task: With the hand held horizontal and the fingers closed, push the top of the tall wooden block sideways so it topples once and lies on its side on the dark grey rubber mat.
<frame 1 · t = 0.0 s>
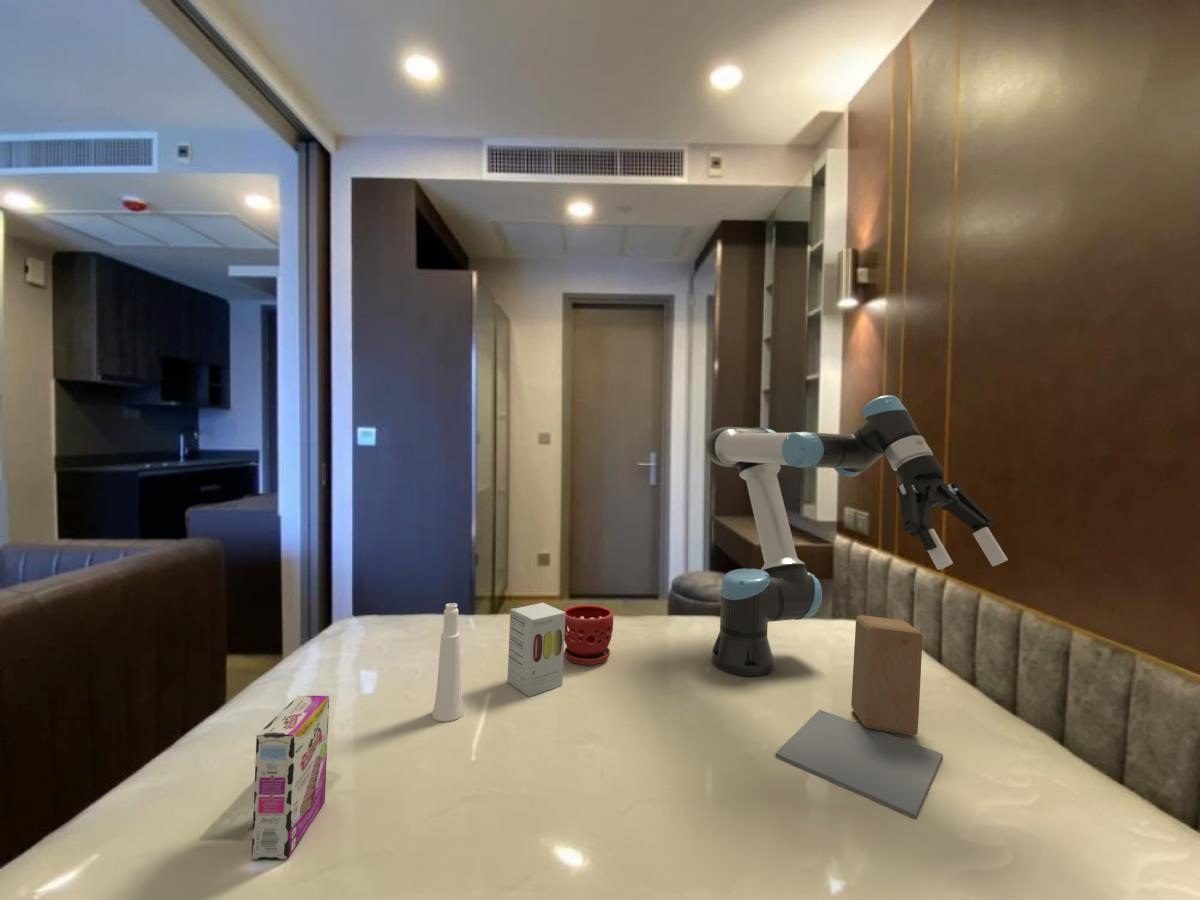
hand: (973, 565, 92), 36 cm above the table, tool tilted 35°, fingers open, 13 cm apart
cosmetic bottle: (448, 715, 105), on the table
supplement box: (534, 684, 119), on the table
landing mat: (859, 756, 95), on the table
candy bar box: (292, 831, 73), on the table
plant pot: (586, 658, 135), on the table
wooden block: (882, 723, 107), on the table
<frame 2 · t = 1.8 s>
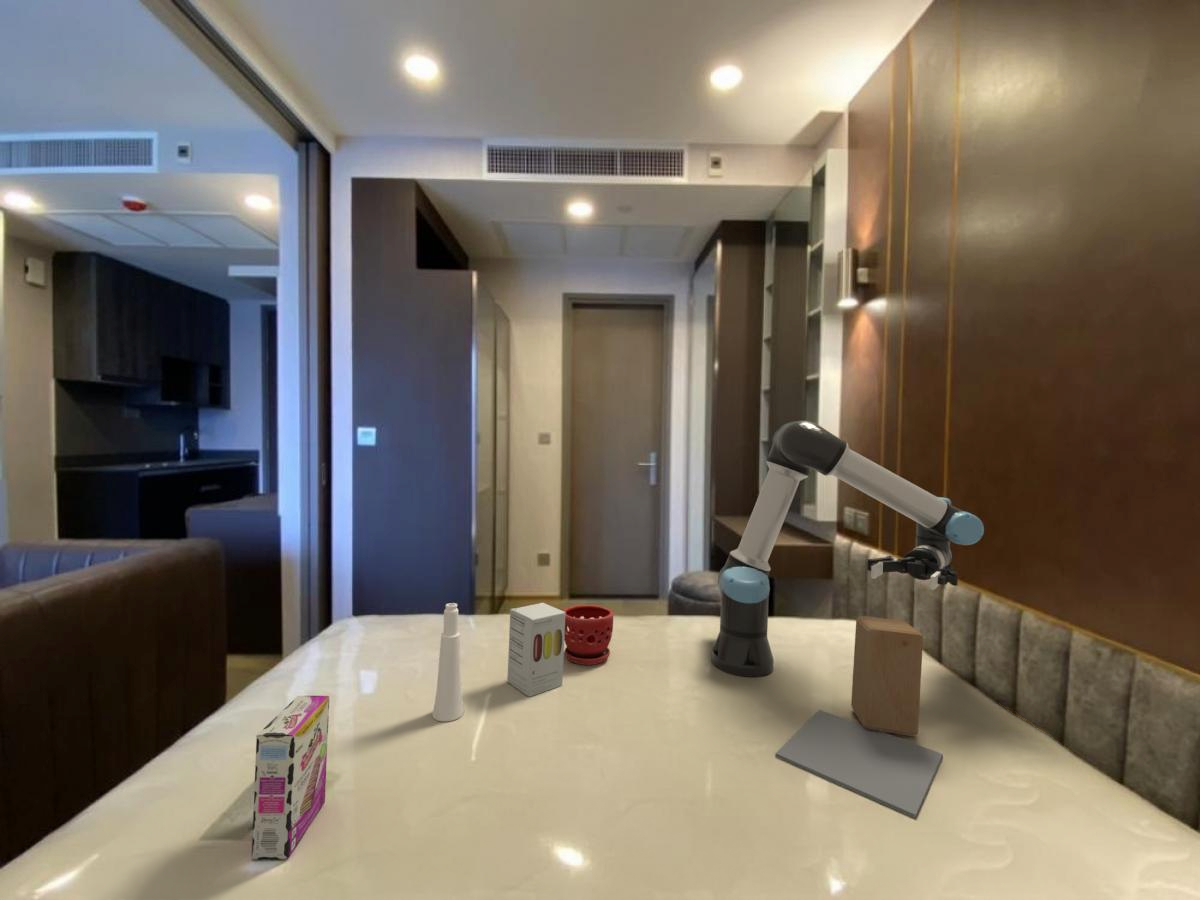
hand: (901, 577, 114), 28 cm above the table, tool horizontal, fingers open, 11 cm apart
wooden block: (882, 723, 107), on the table, touching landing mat
everything else where it was.
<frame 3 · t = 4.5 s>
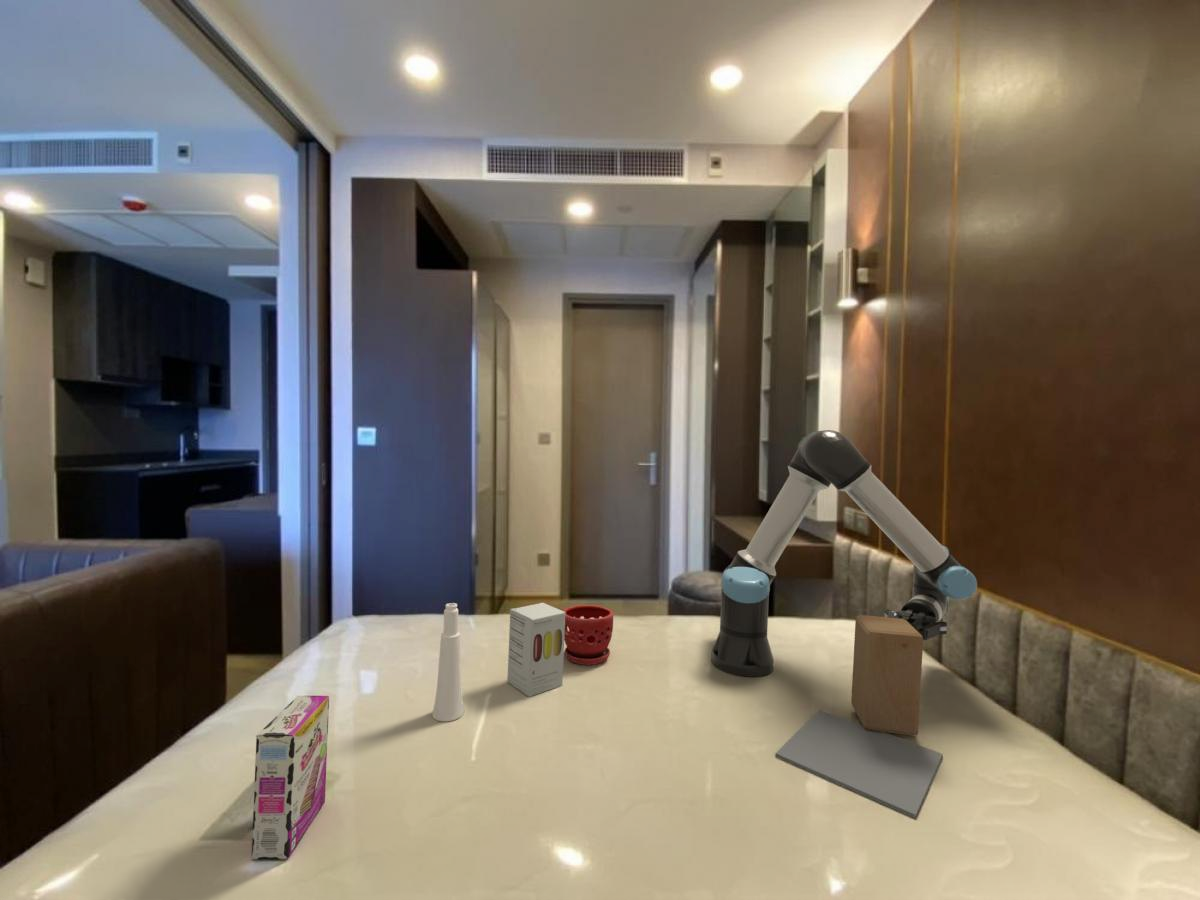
hand: (898, 639, 110), 16 cm above the table, tool horizontal, fingers closed
wooden block: (882, 721, 107), point 1 cm above the table, touching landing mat
everything else where it was.
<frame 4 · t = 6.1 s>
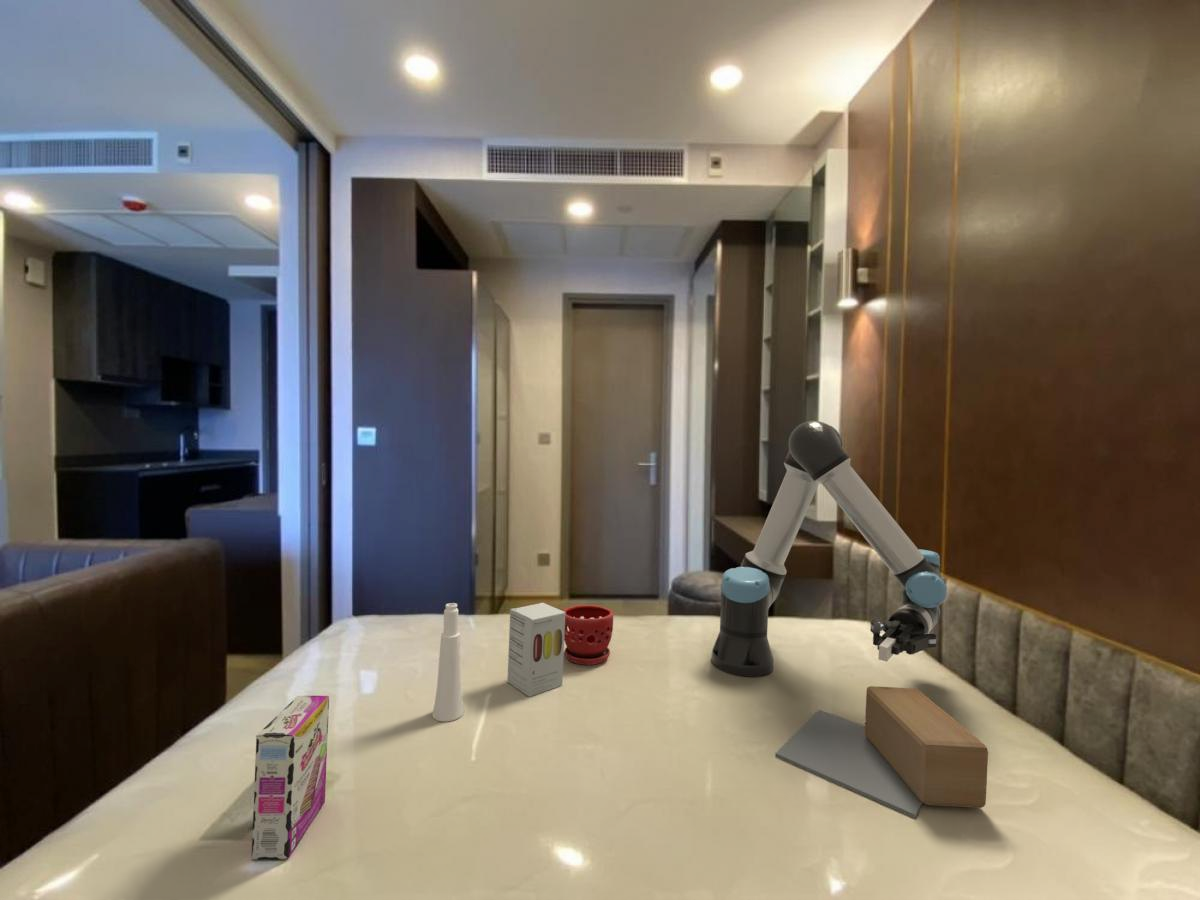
hand: (882, 653, 102), 16 cm above the table, tool horizontal, fingers closed
wooden block: (889, 710, 101), point 6 cm above the table, touching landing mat
everything else where it was.
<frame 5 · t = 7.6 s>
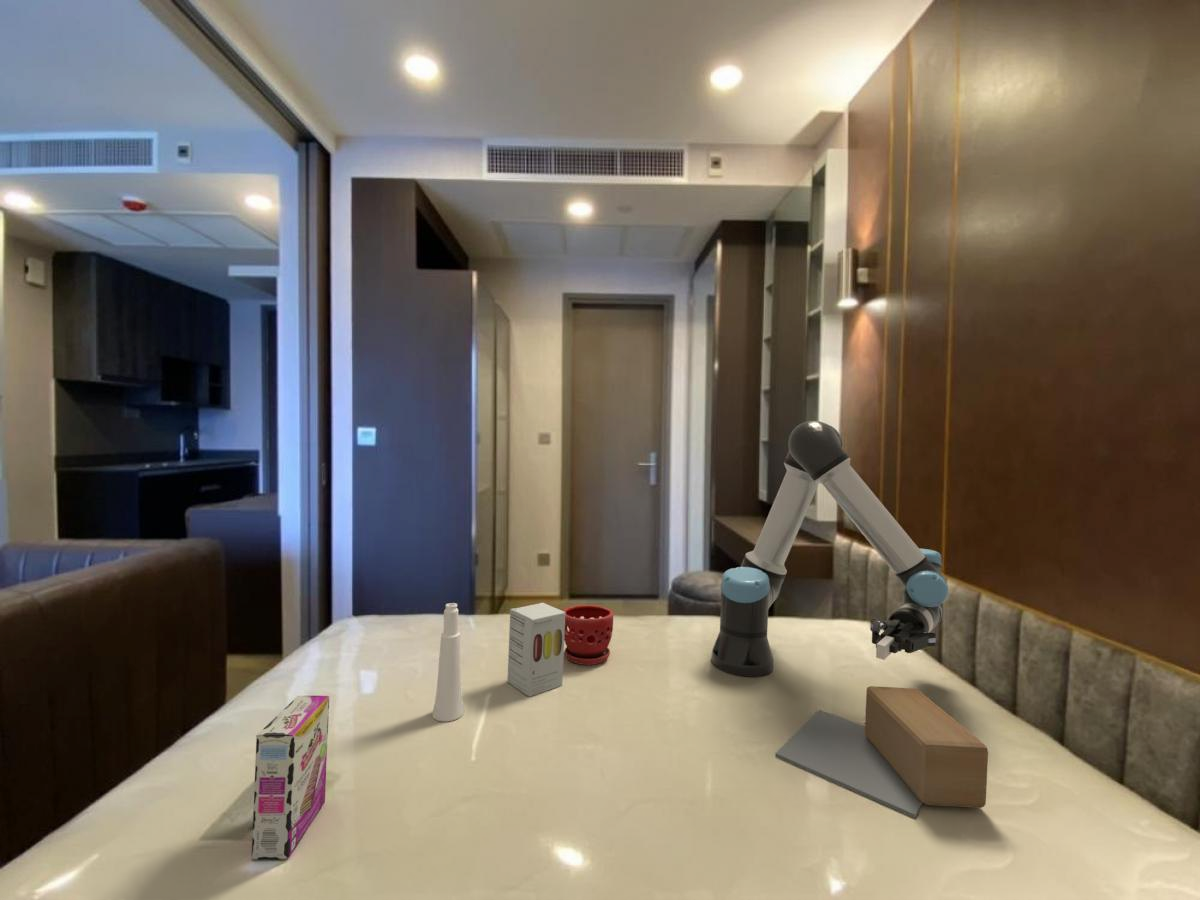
hand: (880, 651, 103), 16 cm above the table, tool horizontal, fingers closed
nothing on the table moved.
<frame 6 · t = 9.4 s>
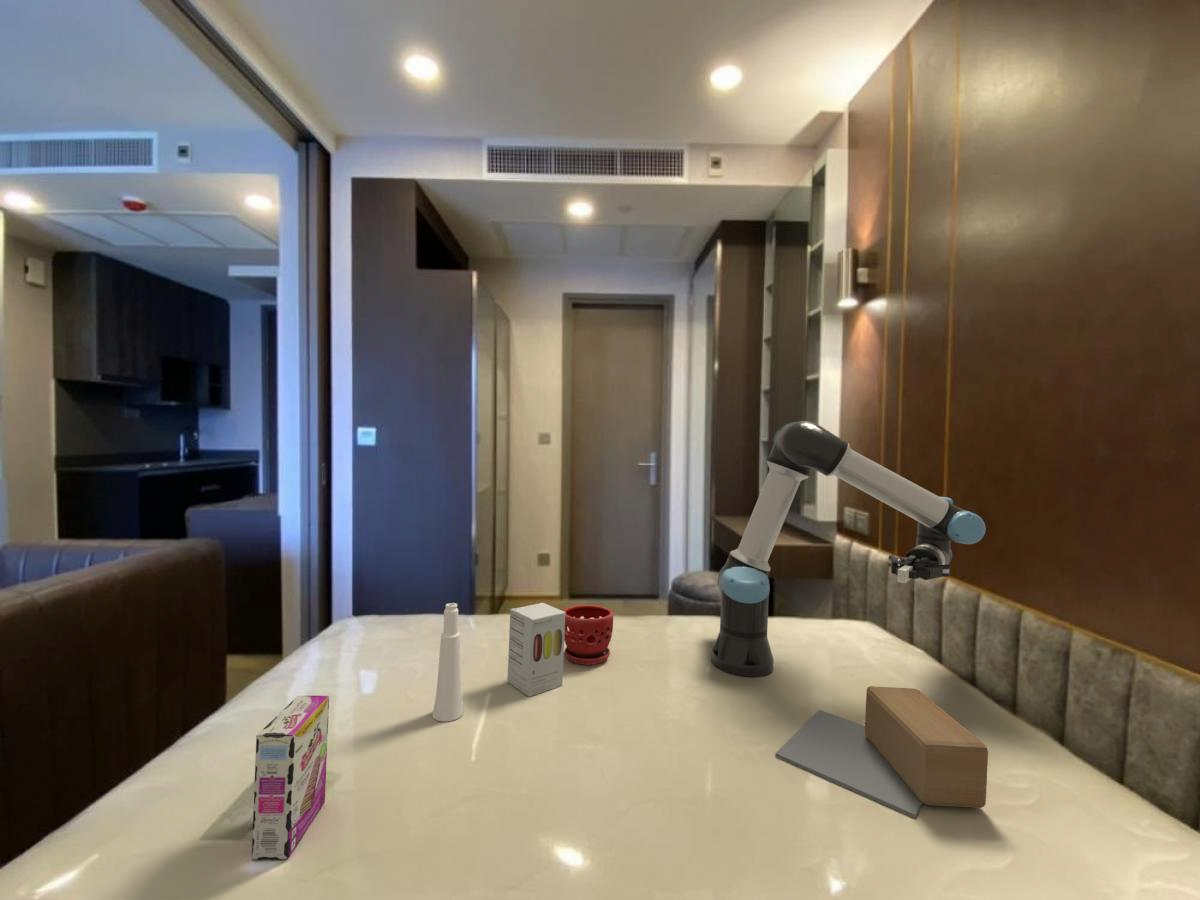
hand: (901, 576, 113), 29 cm above the table, tool horizontal, fingers closed
nothing on the table moved.
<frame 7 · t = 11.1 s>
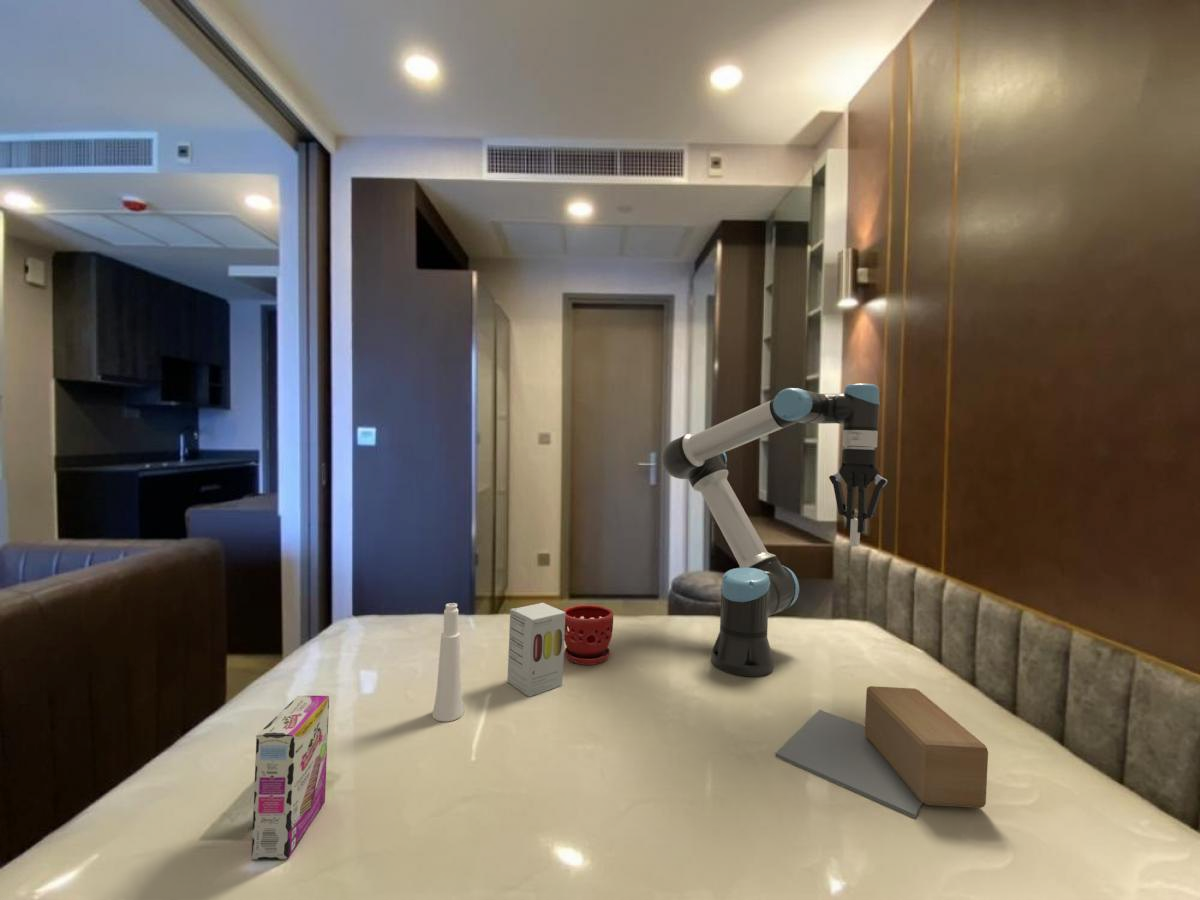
hand: (854, 545, 127), 32 cm above the table, tool pointing down, fingers closed
nothing on the table moved.
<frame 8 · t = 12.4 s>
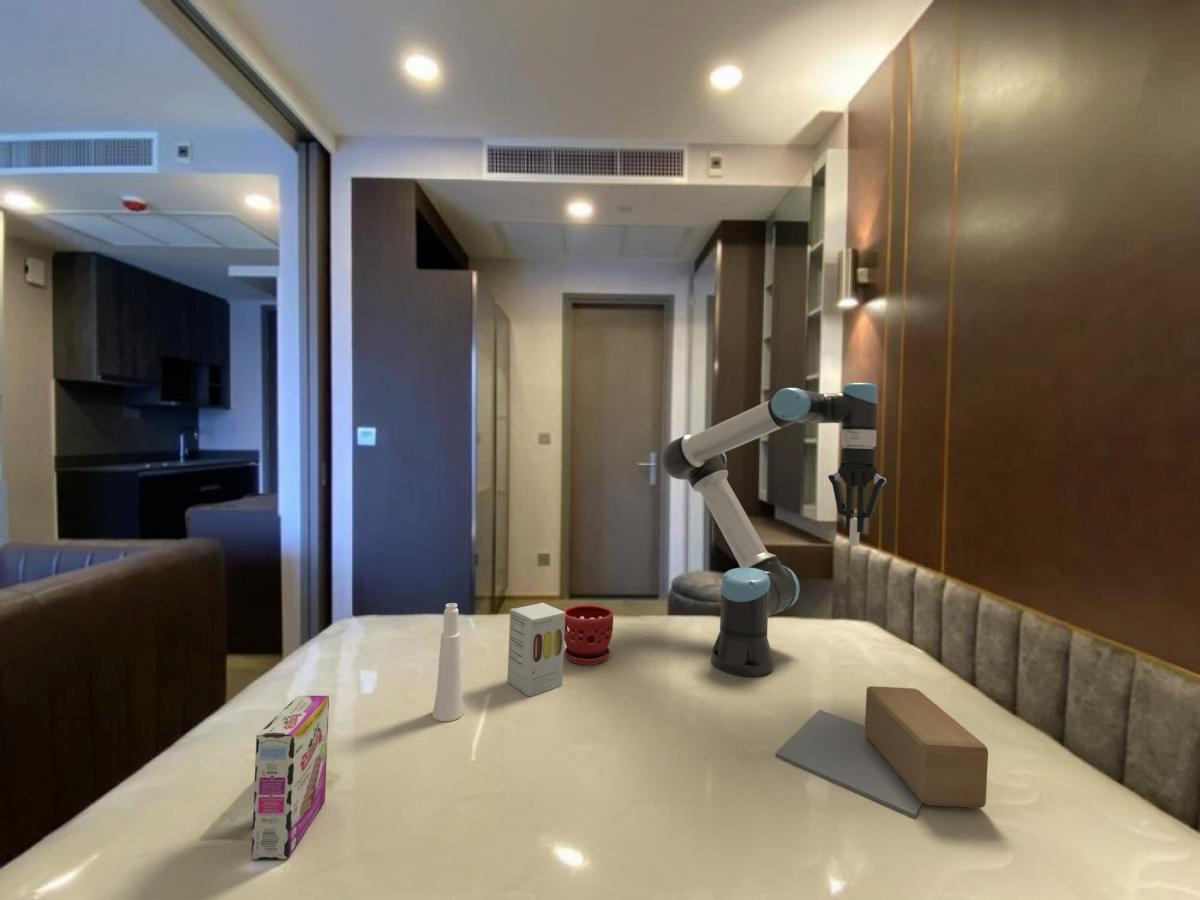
hand: (854, 544, 127), 32 cm above the table, tool pointing down, fingers closed
nothing on the table moved.
at the end: wooden block tilted 90°; wooden block inside the target area (2.8 cm from its centre), point 5.6 cm above the table; wooden block touching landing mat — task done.
